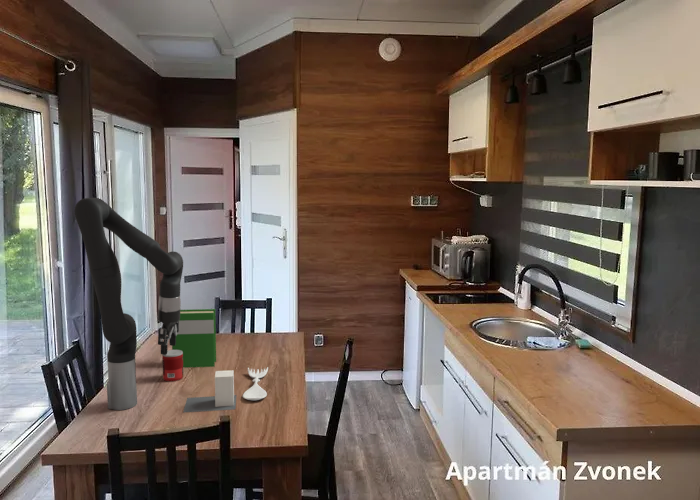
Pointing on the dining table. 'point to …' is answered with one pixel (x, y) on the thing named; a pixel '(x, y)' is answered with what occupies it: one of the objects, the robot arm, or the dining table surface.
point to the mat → (205, 404)
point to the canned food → (173, 365)
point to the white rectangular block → (224, 388)
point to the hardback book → (197, 337)
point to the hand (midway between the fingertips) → (168, 349)
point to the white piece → (255, 386)
